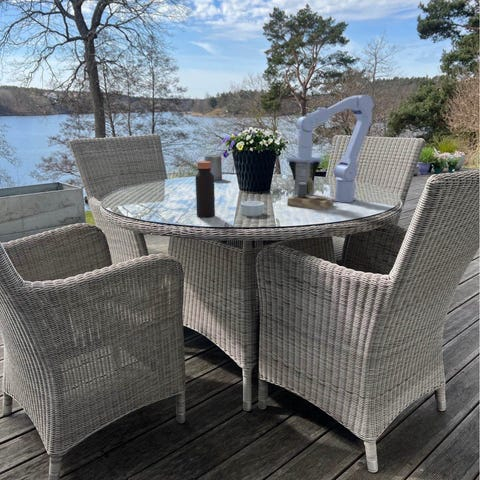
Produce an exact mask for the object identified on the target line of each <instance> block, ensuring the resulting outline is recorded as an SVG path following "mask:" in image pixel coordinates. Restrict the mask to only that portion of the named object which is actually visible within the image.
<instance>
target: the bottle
mask: <svg viewBox="0 0 480 480" xmlns="http://www.w3.org/2000/svg"><path fill="white" fill-rule="evenodd" d="M210 169H211V162H209V161H205V160H204V161H197V170H198V172H197V173H196V175H195V196H196V197H195V200H196V201H195V202H196V203H195V204H196V216H197V217H198V218H201V219H202V218H205V219H206V218H213V217H214V216H215V215H216V209H215V208H216V207H215V206H216V205H215V181H214V175H213V174H212V173H211V171H210Z"/></svg>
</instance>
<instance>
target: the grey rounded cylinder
mask: <svg viewBox="0 0 480 480" xmlns="http://www.w3.org/2000/svg"><path fill="white" fill-rule="evenodd" d="M306 189H307V184H306V183H305V182H299V184H298V195H297V198H302V199H306Z"/></svg>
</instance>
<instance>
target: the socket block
mask: <svg viewBox="0 0 480 480" xmlns="http://www.w3.org/2000/svg"><path fill="white" fill-rule="evenodd" d="M333 199H334V198H332V197H323V196H315V195H311V196H307V195H306V199H302V198H297V195H296V196H294V195H293V196H291V197H287V203H286V205H287V206H289V207H297V208H304V209H314V210H322V211H324V210H326V209H328V208H331V207H333V206H334V201H333Z"/></svg>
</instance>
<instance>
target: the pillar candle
mask: <svg viewBox="0 0 480 480" xmlns="http://www.w3.org/2000/svg"><path fill="white" fill-rule="evenodd" d="M204 161H209V162H211V169H210V171H211V173H212V174H213V175H214V182H215V181H216V182H217V181H221V180H222V179H223V172H222V171H223V170H222V169H223V168H222V167H223V166H222V164H223V163H222V155H221V154H220V155H219V154H206V155H204Z"/></svg>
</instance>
